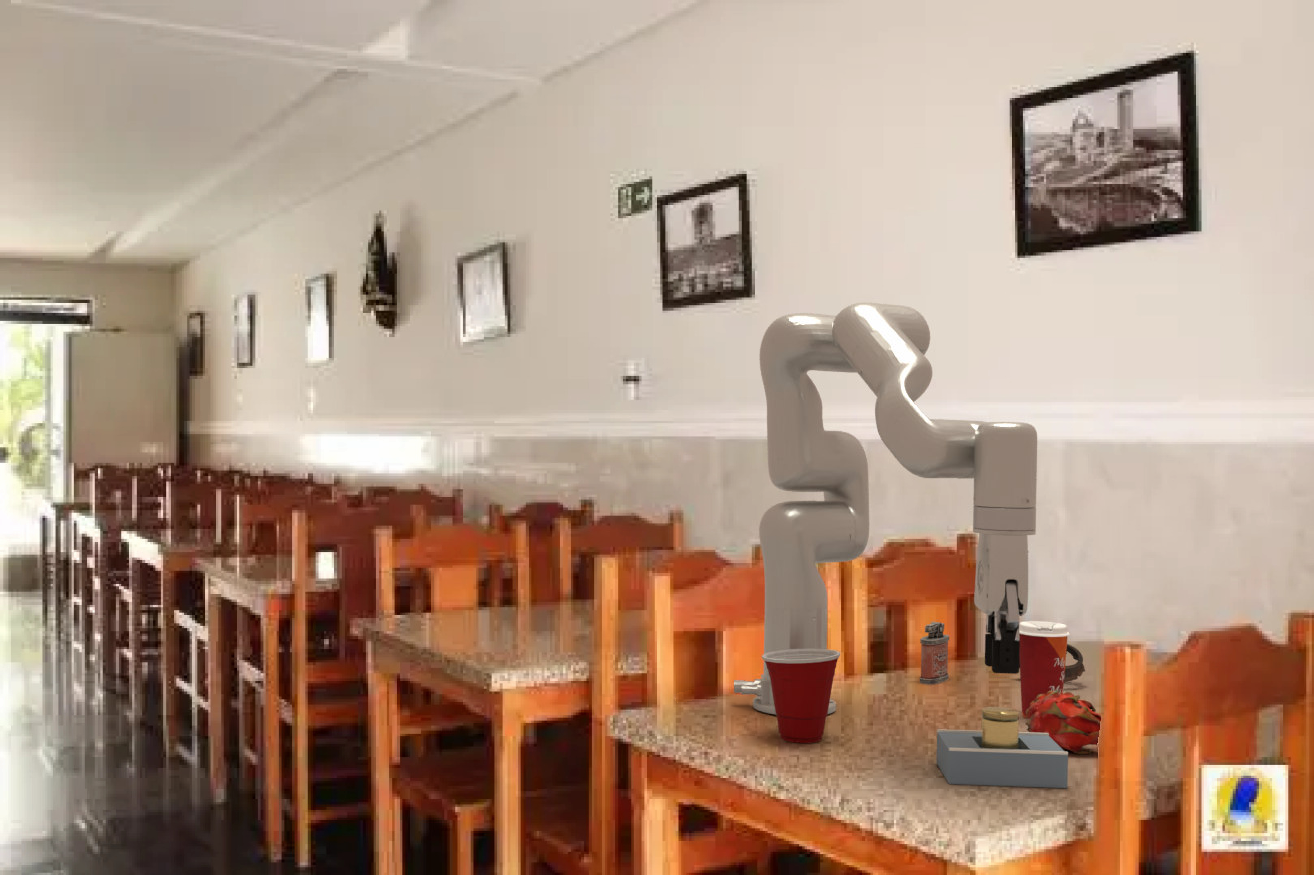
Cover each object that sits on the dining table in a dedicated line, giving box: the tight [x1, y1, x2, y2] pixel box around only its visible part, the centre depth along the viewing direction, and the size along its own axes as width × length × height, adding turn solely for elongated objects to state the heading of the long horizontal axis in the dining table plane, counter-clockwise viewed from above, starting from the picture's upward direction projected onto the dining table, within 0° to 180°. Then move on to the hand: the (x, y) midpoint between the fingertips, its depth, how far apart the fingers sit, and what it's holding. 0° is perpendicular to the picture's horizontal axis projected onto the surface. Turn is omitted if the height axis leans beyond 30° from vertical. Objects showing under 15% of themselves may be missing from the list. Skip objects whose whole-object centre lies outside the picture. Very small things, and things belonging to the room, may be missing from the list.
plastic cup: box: [761, 648, 841, 744], centre depth 176 cm, size 11×11×12 cm
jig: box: [935, 728, 1069, 789], centre depth 159 cm, size 14×10×4 cm
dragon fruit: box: [1024, 690, 1101, 755], centre depth 173 cm, size 8×8×12 cm
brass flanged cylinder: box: [981, 706, 1020, 749], centre depth 159 cm, size 4×4×8 cm
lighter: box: [919, 621, 950, 685], centre depth 220 cm, size 8×3×10 cm, turn 144°
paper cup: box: [1019, 620, 1071, 720], centre depth 193 cm, size 8×8×14 cm
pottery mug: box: [1019, 643, 1086, 683], centre depth 219 cm, size 12×9×8 cm
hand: (1001, 668), depth 159 cm, fingers open, 3 cm apart
